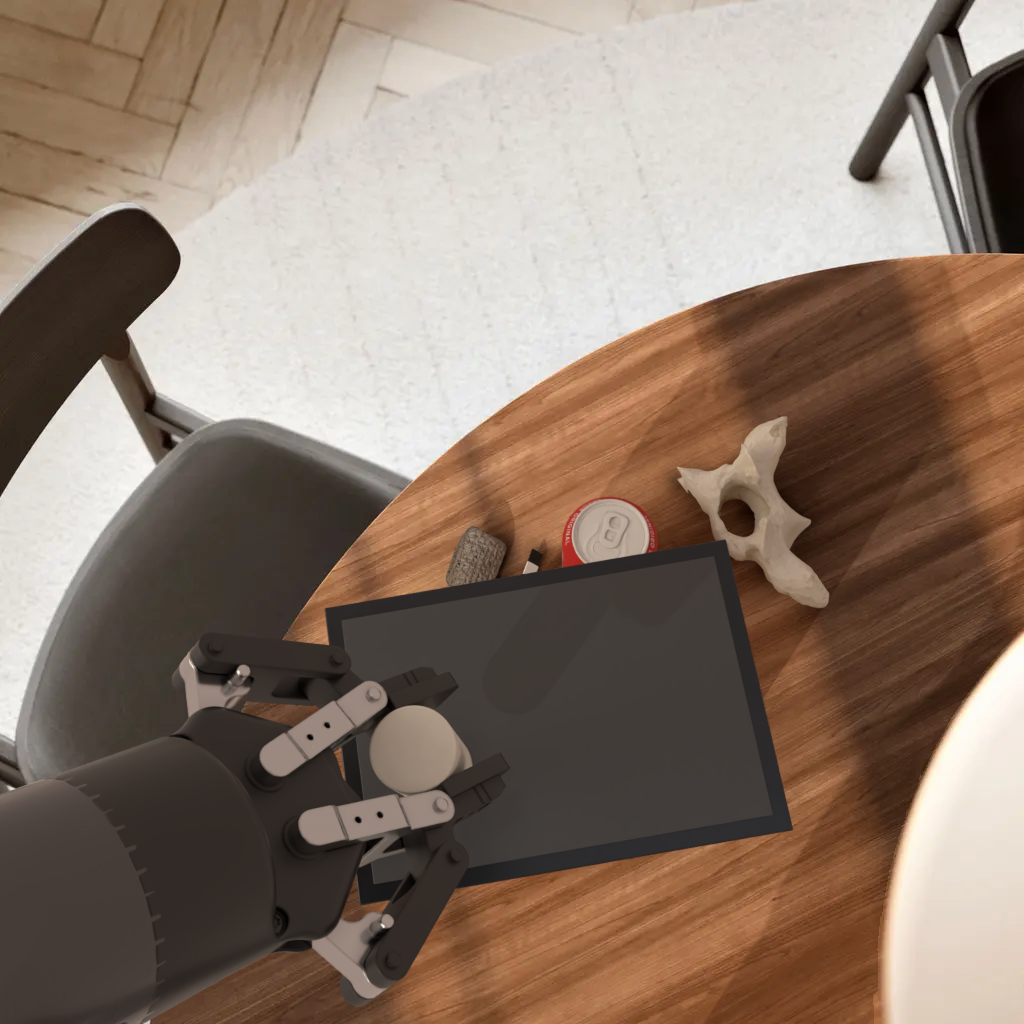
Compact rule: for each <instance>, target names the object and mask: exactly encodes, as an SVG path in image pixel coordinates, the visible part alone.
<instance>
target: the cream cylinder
mask: <svg viewBox="0 0 1024 1024" xmlns="http://www.w3.org/2000/svg"><path fill="white" fill-rule="evenodd" d="M369 752H370V760H371V764H372V767H373V769H374V771H375V773H376V775H377V776H378V778H379V779H380V780H381V781H382V782H383V783H384V784H385V785H386V786H388V787H389V788H391V789H393V790H394V791H396V792H398V793H400V794H402V795H403V796H405V797H406V796H410V795H415V794H419V793H424V792H428V791H433V790H434V789H435V788H437V787H438V786H439V785H440V784H441V783H442V782H443V781H444V780H445V779H447V778H449V777H451V776H453V775H455V774H457V773H459V772H461V771H463V770H465V769H467V768H469V767H472V766H473V761H472V757H471V755H470V752H469V751H468V749H467V747H466V746H465V745H464V743H463V742H462V741H461V739H460V738H459V737H458V735H457V734H456V733H455V731H454V730H453V729H452V727H451V726H450V724H449V723H448V722H447V721H446V719H445V718H444V717H443V716H441V715H440V714H439V713H438V712H436V711H434V710H432V709H430V708H427V707H424V706H415V705H412V706H405V707H401V708H398V709H396V710H394V711H392V712H391V713H389V714H388V715H386V716H385V717H384V718H383V719H382V720H381V721H380V723H379V724H378V725H377V727H376V728H375V730H374V733H373V735H372V738H371V742H370V751H369Z"/></svg>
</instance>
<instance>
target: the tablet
mask: <svg viewBox="0 0 1024 1024" xmlns="http://www.w3.org/2000/svg"><path fill="white" fill-rule="evenodd" d="M731 559H732V558H731V556H730V555H729V551H728V546H727V542H726V540H725V539H724V540H718V541H716V540H713V541H707V542H701V543H696V544H690V545H684V546H679V547H673V548H667V549H660V550H657V551H655V552H649V553H643V554H637V555H631V556H625V557H620V558H614V559H608V560H602V561H596V562H591V563H585V564H579V565H573V566H567V567H562V566H561V567H556V568H551V569H550V568H549V569H544V570H539V571H538V570H537V572H532V573H527V574H523V573H521V574H515V575H510V576H504V577H498V578H495V579H492V580H486V581H480V582H474V583H468V584H463V585H457V586H451V587H450V586H446V587H439V588H434V589H428V590H422V591H417V592H411V593H405V594H400V595H393V596H388V597H382V598H376V599H370V600H364V601H359V602H353V603H347V604H341V605H335V606H330V607H325V608H324V616H325V624H326V632H327V641H328V645H334V646H338V647H340V648H342V649H344V650H345V651H346V652H347V653H348V655H349V657H350V659H351V668H350V670H351V671H352V672H353V673H354V674H355V675H356V676H357V677H359V678H360V679H361V680H363V681H373V682H376V683H378V682H381V681H384V680H386V679H389V678H392V677H394V676H397V675H400V674H403V673H405V672H408V671H411V670H413V669H416V668H419V667H431V668H433V670H434V672H435V673H436V675H440V674H442V673H445V672H450V673H451V675H452V676H453V678H454V680H455V681H456V683H457V684H458V686H459V687H458V688H457V690H455V691H454V692H453V693H452V694H451V695H450V696H449V697H448V698H447V699H446V700H445V701H444V702H443V703H442V704H441V705H440V706H438V707H437V708H436V709H434V711H436V712H438V713H439V714H440V715H441V716H443V717H444V718H445V719H446V721H447V722H448V723H449V724H450V726H451V727H452V729H453V730H454V731H455V733H456V734H457V735H458V737H459V738H460V739H461V741H462V742H463V743H464V745H465V746H466V747H467V749H468V751H469V752H470V755H471V757H472V761H473V766H474V765H476V764H478V763H480V762H482V761H484V760H486V759H488V758H490V757H492V756H494V755H496V754H498V753H501V754H502V756H503V757H504V759H505V760H506V762H507V764H508V765H509V767H510V769H509V770H508V771H507V772H506V773H504V774H503V775H502V776H501V778H502V780H503V782H504V783H505V785H506V787H505V789H504V790H503V792H502V793H501V795H500V796H499V797H497V798H496V799H495V800H494V801H492V802H491V803H490V804H489V805H488V806H486V807H485V808H484V809H483V810H481V811H480V812H478V813H476V814H474V815H473V816H470V817H469V818H467V819H465V820H463V821H461V822H460V823H458V824H456V825H454V826H453V835H454V839H455V841H457V842H459V843H460V844H462V845H463V846H464V848H465V849H466V851H467V853H468V855H469V866H468V868H467V870H466V871H465V873H464V875H463V877H462V878H461V880H460V882H459V884H458V885H457V887H456V889H455V890H458V889H459V890H460V889H464V888H470V887H475V886H482V885H487V884H493V883H499V882H505V881H510V880H515V879H522V878H528V877H533V876H540V875H544V874H550V873H556V872H561V871H568V870H573V869H579V868H586V867H590V866H596V865H602V864H608V863H615V862H619V861H624V860H625V861H626V860H631V859H636V858H642V857H649V856H653V855H659V854H665V853H671V852H676V851H683V850H689V849H695V848H700V847H706V846H712V845H718V844H723V843H729V842H735V841H740V840H747V839H752V838H758V837H763V836H768V835H775V834H780V833H787V832H791V831H792V832H793V830H794V826H793V822H792V818H791V814H790V809H789V805H788V801H787V796H786V791H785V789H784V784H783V779H782V775H781V771H780V766H779V762H778V758H777V757H778V756H777V753H776V748H775V744H774V740H773V737H772V736H773V735H772V731H771V727H770V724H769V723H770V722H769V719H768V714H767V710H766V705H765V702H764V698H763V694H762V693H763V692H762V688H761V684H760V681H759V675H758V671H757V666H756V663H755V659H754V654H753V651H752V646H751V641H750V637H749V633H748V627H747V624H746V621H745V620H746V619H745V616H744V612H743V607H742V602H741V598H740V594H739V590H738V589H739V588H738V585H737V582H736V578H735V577H736V576H735V572H734V568H733V564H732V560H731ZM371 738H372V737H370V738H368V737H367V735H366V733H365V732H363V733H361V734H359V735H356V736H355V737H354V738H353V739H352V740H350V741H349V742H348V743H346V744H345V745H343V746H342V747H341V748H340V750H341V758H342V759H341V761H342V769H343V776H344V777H343V778H344V780H345V781H346V782H347V784H348V785H349V786H350V787H351V788H352V789H353V790H354V791H355V792H356V793H357V795H358V796H359V797H360V799H361V800H362V801H365V800H369V799H374V798H378V797H383V796H388V795H393V794H397V795H398V797H399V798H401V797H405V796H403V795H402V794H400V793H398V792H396V791H394V790H393V789H391V788H389V787H388V786H386V785H385V784H384V783H383V782H382V781H381V780H380V779H379V778H378V776H377V775H376V773H375V771H374V769H373V767H372V764H371V760H370V752H369V751H370V742H371ZM408 871H410V868H409V864H408V860H407V856H406V852H402V853H398V854H394V855H390V856H386V857H382V858H379V859H376V860H374V861H372V862H370V863H369V864H367V865H364V866H362V867H359V868H358V871H357V874H356V876H355V879H356V886H357V887H356V889H357V894H358V895H357V896H358V903H359V906H366V905H371V904H377V903H385V902H389V901H390V900H391V898H392V896H393V895H394V893H395V892H396V890H397V888H398V887H399V885H400V884H401V882H402V881H403V879H404V877H405V876H406V874H407V873H408Z"/></svg>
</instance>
